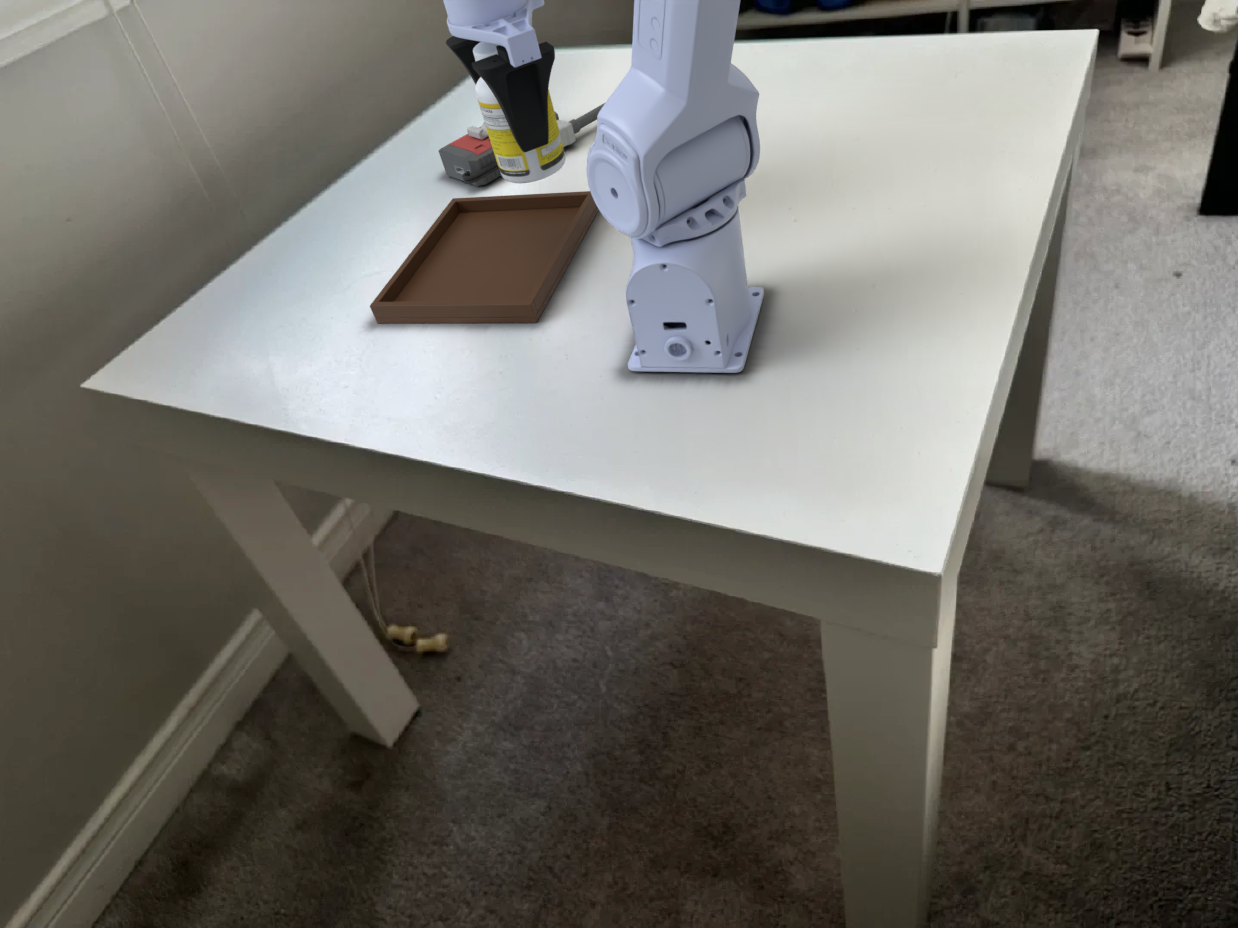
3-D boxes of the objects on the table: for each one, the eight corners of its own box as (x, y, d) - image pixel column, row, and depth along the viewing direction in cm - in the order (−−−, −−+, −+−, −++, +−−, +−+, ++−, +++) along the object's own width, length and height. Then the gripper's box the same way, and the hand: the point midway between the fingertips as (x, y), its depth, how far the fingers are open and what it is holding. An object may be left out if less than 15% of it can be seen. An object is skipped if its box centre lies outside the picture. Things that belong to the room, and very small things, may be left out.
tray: (536, 322, 69) (530, 304, 68) (377, 323, 73) (369, 305, 72) (599, 207, 80) (595, 190, 79) (458, 214, 85) (452, 197, 84)
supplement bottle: (562, 146, 74) (532, 22, 67) (570, 174, 70) (538, 44, 63) (499, 163, 74) (461, 40, 67) (503, 192, 70) (464, 64, 63)
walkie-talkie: (484, 199, 86) (633, 112, 94) (469, 155, 83) (624, 69, 91) (434, 180, 91) (578, 99, 99) (419, 138, 88) (569, 58, 96)
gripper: (560, -61, 56) (604, 146, 65) (491, -91, 67) (538, 91, 76) (455, -26, 55) (515, 180, 64) (402, -62, 66) (460, 120, 75)
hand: (522, 134), depth 70 cm, fingers closed on supplement bottle, 5 cm apart
